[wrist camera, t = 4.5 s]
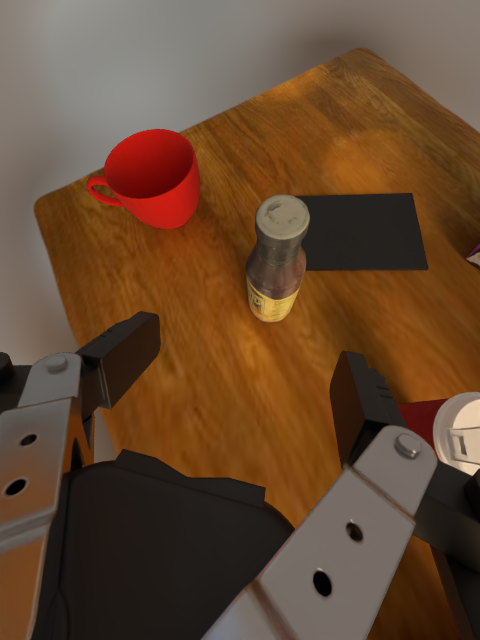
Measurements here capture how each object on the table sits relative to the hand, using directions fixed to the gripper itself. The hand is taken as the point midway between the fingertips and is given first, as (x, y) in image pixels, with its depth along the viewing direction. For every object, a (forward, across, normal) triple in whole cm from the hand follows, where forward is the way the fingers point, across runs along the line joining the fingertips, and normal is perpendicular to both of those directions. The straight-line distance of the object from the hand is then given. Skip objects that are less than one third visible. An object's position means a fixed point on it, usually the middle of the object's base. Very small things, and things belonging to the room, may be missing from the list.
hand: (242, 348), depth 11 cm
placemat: (+36, -11, -2) cm, 38 cm away
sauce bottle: (+26, 0, +9) cm, 27 cm away
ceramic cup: (+35, +22, 0) cm, 41 cm away
